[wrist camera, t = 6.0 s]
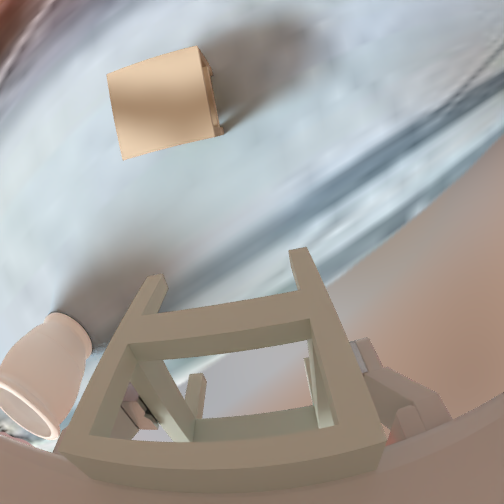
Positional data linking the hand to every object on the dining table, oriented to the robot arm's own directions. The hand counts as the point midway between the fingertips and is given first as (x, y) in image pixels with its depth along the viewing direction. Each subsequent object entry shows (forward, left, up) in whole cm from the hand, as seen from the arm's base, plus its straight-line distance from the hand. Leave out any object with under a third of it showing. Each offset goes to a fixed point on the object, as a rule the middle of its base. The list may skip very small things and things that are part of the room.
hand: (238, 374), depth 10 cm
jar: (+12, -27, -20) cm, 36 cm away
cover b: (0, 0, -3) cm, 3 cm away
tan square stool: (-11, -3, -20) cm, 23 cm away
